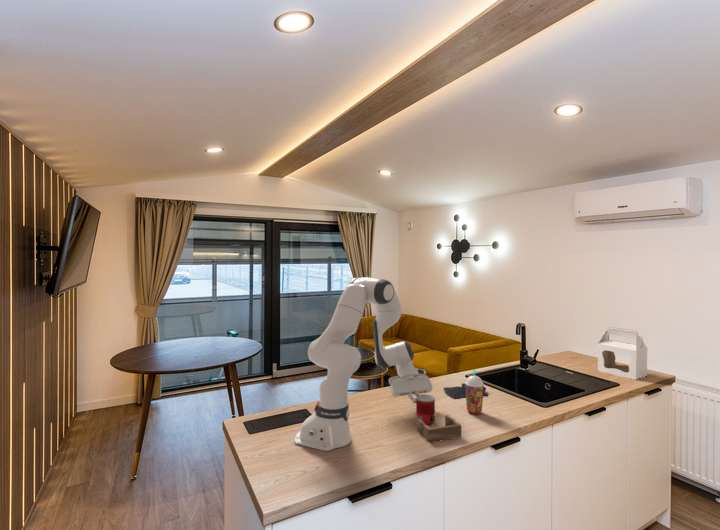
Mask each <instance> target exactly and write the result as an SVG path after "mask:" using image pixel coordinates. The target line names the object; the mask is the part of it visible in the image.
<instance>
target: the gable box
mask: <svg viewBox="0 0 720 530" xmlns="http://www.w3.org/2000/svg"><path fill="white" fill-rule="evenodd" d="M610 335H612V336H618V337H625V338H630V339H631V338H632V339H635V340H636V344H634V343H633V344H632V343H627V342H623V341H617V340H610ZM615 354H619V355H626V356H629V357H630V362H629V364H628V365H626V364H625V365H623V364H621V365H619V364H617V363H616V355H615ZM597 371H598V372H601V373H605V374H608V375H613V376H618V377H622V378H625V377H626V378H625V379H629V378H632V379H631V380H633V379H638V380H640V379H639V378H641V377H644V378H646V377H645V376H647V377H648V347H647V346H646V343H645V342H644V341H643V336H640V335H639V333H638V330H634V329H627V328H622V327H621V328H620V327H615V326H614V327H612V326H609V327H607V328H606V331H605V330H603V335H602V337H601V338H600V340H599V341H598V343H597ZM641 379H642V378H641Z"/></svg>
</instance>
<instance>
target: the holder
mask: <svg viewBox="0 0 720 530" xmlns="http://www.w3.org/2000/svg"><path fill="white" fill-rule="evenodd" d="M444 416H445V417H444V425H443V426H437V427H429V426H427V425H426V424H425V423H424V422H423V421H422V420H421V419H420V418H419V419H417V420H416V432H418V434H419V435H421V437H422V438H424V439H425V441H427V443H429V442H430V443H434V442H433V441H437V442H441V441H440V440H443V441H447V440H446V439H449V440H453V439H452V438H456V439H461V438H462V424H460V423H459V422H458V421H456V420H455V418H453V417H452V416H450V415H449V414H445V415H444ZM460 437H461V438H460Z"/></svg>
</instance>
